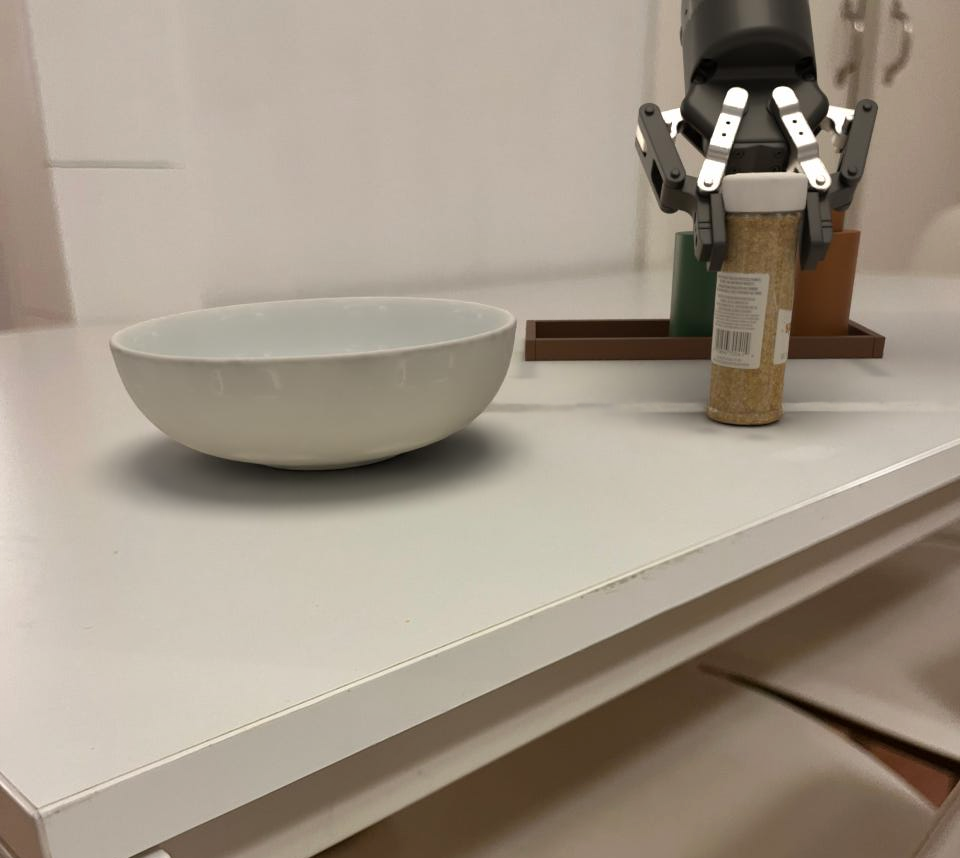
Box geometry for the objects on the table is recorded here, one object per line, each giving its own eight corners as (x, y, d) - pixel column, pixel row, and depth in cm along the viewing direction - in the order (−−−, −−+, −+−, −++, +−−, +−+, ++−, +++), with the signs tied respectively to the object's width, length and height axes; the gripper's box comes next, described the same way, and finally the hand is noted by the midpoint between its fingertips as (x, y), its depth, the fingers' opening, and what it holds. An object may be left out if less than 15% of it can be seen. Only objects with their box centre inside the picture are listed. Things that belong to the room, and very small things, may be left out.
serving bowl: (230, 403, 67) (217, 294, 64) (542, 412, 63) (543, 296, 60) (48, 496, 49) (17, 349, 46) (472, 517, 45) (469, 358, 42)
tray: (842, 342, 85) (846, 316, 84) (881, 366, 75) (886, 336, 74) (526, 345, 86) (526, 319, 85) (524, 368, 77) (525, 339, 76)
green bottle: (724, 342, 82) (737, 181, 77) (734, 352, 78) (749, 182, 73) (664, 342, 83) (674, 182, 78) (672, 352, 78) (682, 183, 73)
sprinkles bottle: (798, 421, 60) (827, 171, 54) (735, 430, 58) (759, 173, 52) (749, 406, 64) (771, 171, 58) (688, 414, 62) (705, 173, 56)
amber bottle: (835, 341, 82) (857, 179, 77) (852, 351, 78) (876, 180, 72) (776, 341, 82) (793, 180, 77) (789, 351, 78) (808, 181, 73)
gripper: (632, -26, 58) (640, 213, 52) (886, -32, 57) (923, 209, 51) (620, 86, 65) (627, 307, 59) (847, 81, 64) (875, 304, 58)
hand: (765, 260), depth 55 cm, fingers closed on sprinkles bottle, 4 cm apart
